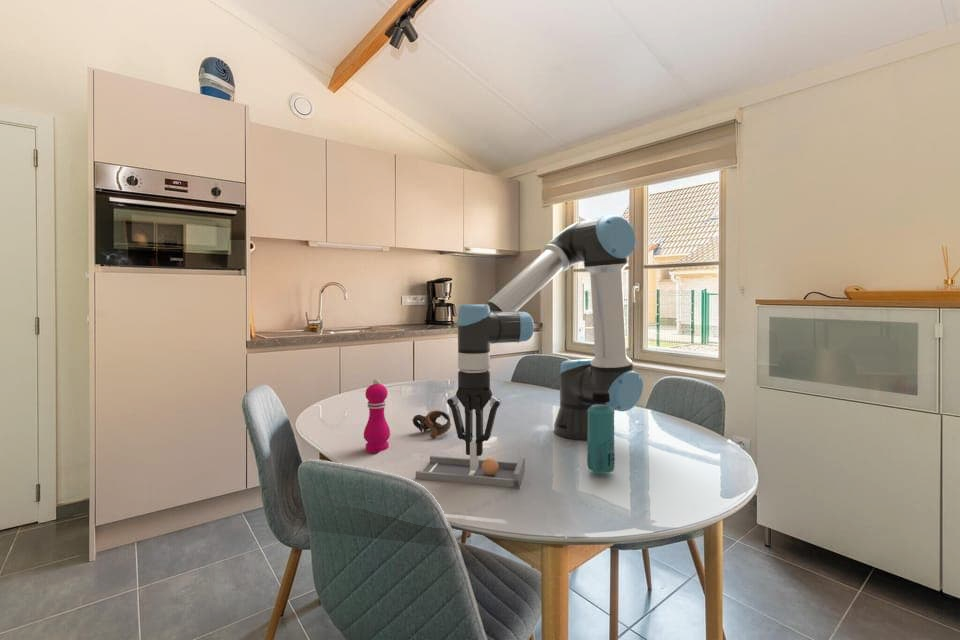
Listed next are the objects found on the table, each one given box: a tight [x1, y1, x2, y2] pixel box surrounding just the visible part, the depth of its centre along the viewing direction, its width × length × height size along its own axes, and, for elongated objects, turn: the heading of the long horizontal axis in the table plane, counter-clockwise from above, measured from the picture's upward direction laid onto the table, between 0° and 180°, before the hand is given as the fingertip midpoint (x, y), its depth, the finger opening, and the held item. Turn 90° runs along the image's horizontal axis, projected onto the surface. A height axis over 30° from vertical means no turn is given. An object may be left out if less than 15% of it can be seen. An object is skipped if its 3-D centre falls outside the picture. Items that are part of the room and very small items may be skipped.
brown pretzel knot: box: [411, 410, 452, 439], centre depth 139 cm, size 12×10×8 cm
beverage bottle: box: [586, 391, 616, 474], centre depth 107 cm, size 6×7×20 cm
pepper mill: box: [363, 378, 391, 454], centre depth 125 cm, size 7×7×20 cm
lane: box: [415, 455, 526, 491], centre depth 107 cm, size 24×11×4 cm, turn 78°
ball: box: [482, 457, 499, 476], centre depth 106 cm, size 4×4×4 cm
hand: (474, 468), depth 107 cm, fingers closed
